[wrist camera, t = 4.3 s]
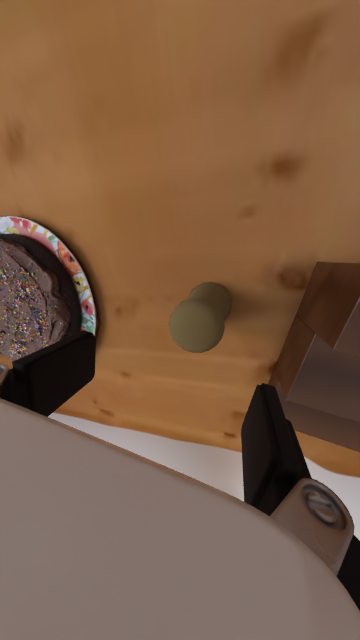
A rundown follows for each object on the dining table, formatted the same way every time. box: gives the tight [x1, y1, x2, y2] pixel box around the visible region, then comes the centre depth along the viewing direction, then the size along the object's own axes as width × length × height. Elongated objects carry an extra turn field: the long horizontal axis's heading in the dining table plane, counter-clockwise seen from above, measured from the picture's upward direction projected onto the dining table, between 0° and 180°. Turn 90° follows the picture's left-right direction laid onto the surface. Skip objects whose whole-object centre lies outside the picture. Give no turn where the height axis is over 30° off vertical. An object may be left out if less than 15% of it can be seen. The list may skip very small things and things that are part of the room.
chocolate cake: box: [0, 216, 100, 360], centre depth 32 cm, size 28×28×7 cm
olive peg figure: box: [169, 282, 231, 353], centre depth 21 cm, size 6×6×11 cm
